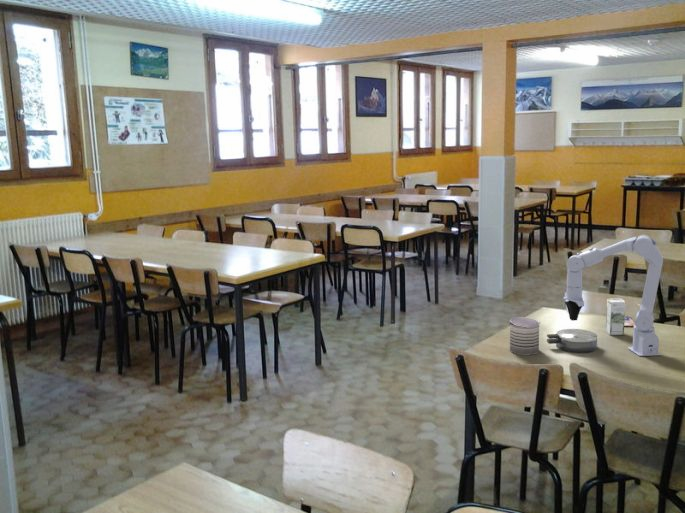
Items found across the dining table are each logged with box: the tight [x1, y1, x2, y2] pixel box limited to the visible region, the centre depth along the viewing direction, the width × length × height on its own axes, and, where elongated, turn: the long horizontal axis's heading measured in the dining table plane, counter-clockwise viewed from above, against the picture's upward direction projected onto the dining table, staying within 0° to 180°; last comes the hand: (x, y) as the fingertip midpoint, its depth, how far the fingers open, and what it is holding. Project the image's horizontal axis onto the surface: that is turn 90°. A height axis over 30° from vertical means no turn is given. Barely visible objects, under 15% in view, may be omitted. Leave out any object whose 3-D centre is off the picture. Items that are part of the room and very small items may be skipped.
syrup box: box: [605, 298, 626, 336], centre depth 268 cm, size 6×6×14 cm
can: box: [508, 316, 541, 356], centre depth 252 cm, size 11×11×12 cm
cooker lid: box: [546, 328, 598, 343], centre depth 254 cm, size 15×19×1 cm
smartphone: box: [624, 316, 635, 328], centre depth 285 cm, size 7×1×15 cm
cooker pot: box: [546, 338, 598, 354], centre depth 254 cm, size 15×19×4 cm
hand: (573, 319), depth 256 cm, fingers closed
